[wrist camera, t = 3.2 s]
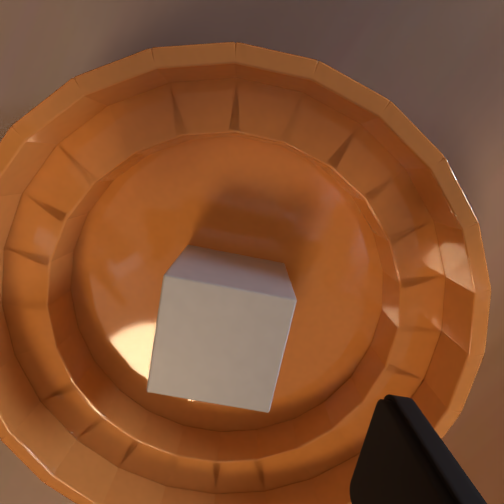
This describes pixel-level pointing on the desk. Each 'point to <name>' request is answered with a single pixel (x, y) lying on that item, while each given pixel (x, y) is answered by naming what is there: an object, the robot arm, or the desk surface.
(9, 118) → the desk surface
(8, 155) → the bowl
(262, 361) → the block
